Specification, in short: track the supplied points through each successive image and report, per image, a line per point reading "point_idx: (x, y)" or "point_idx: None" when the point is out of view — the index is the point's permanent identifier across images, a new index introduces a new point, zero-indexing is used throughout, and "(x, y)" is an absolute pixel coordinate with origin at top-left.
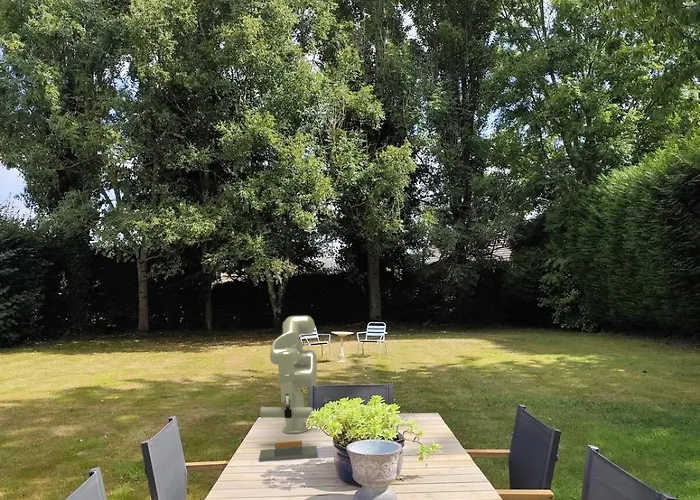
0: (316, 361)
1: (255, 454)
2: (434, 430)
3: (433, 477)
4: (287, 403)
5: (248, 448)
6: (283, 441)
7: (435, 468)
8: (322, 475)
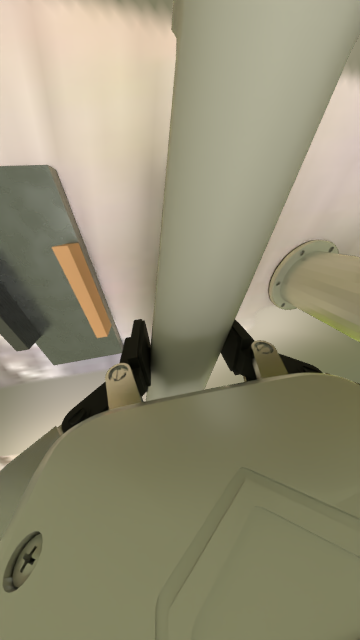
0: None
1: (29, 135)
2: None
3: None
4: (3, 493)
5: (131, 65)
6: (82, 281)
7: None
8: None
